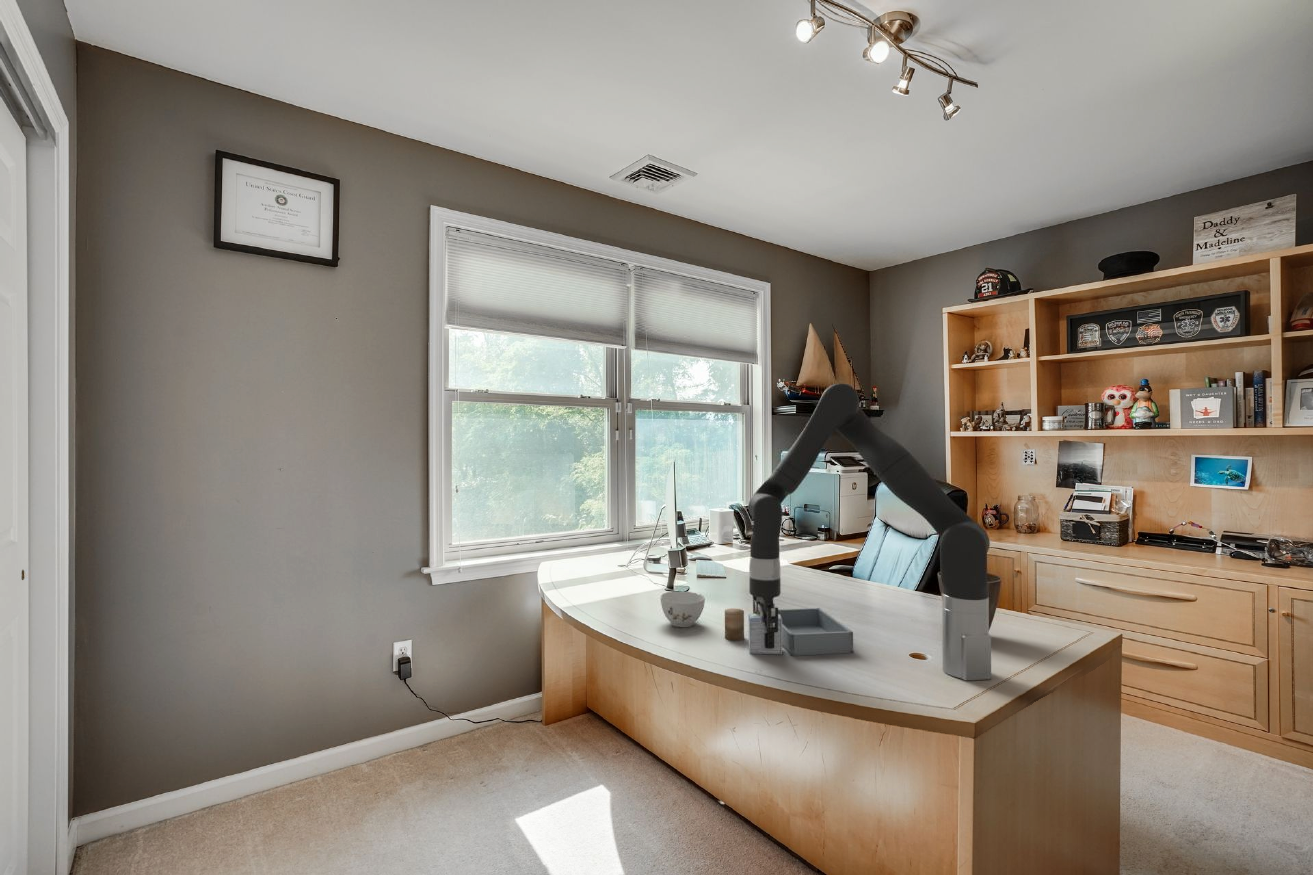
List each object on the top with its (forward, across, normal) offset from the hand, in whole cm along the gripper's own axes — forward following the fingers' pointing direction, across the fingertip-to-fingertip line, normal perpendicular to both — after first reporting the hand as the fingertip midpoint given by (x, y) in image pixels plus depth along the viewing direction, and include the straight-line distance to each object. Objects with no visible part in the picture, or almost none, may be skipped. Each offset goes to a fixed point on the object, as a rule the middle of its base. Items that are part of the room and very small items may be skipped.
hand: (765, 643), depth 152 cm
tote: (+2, +7, -13) cm, 15 cm away
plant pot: (+2, +4, -56) cm, 56 cm away
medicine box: (+2, 0, 0) cm, 2 cm away
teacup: (+2, +25, +16) cm, 30 cm away
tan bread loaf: (+2, +11, +5) cm, 12 cm away
